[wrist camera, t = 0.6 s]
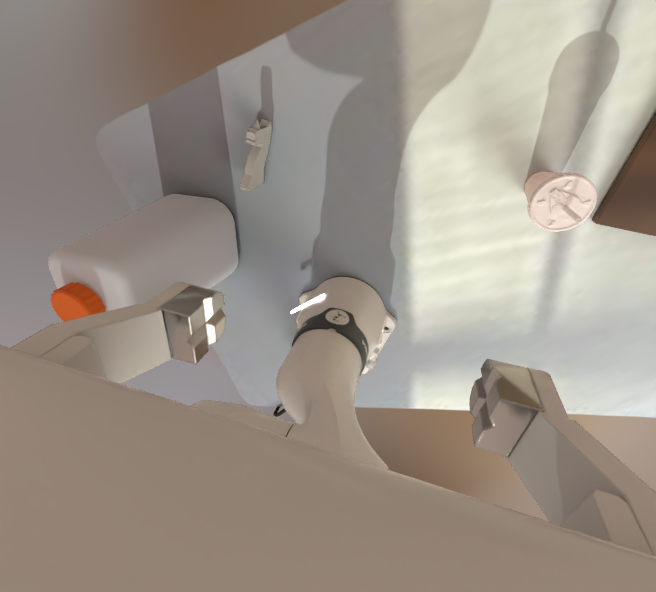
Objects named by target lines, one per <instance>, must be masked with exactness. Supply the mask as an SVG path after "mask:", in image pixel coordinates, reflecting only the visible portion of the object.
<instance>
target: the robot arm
mask: <svg viewBox="0 0 656 592" xmlns="http://www.w3.org/2000/svg"><path fill="white" fill-rule="evenodd" d="M299 303H300V306H299V307H297V308H295V309H293V310H292V311H291V312H290V313H291V314H292V313H294V312H296V311H298V310H300V313H299V315H298V317H297V319H296V322H297V323H298V324H297V325H298V331H297V333H296V335H295V337H294V340H293V343H292V348H291V350H290V352H289V354H288V355H287V357H286V359H285V360H284V362H283V364H282V366H281V367H280V369H279V371H278V374H277V378H276V389H277V393H278V396H279V399H280V401H281V403H282V405H283V407H284V409H283V410H281V411H280V412H279V413H277V412H278V410H279V408H280V407H281V406H277V408H276V409H275V411H274V416H273V415H270V414H267V413H265V412H262V411H259V410H256V409H253V408H251V407H248V406H245V405H242V404H235V403H229V402H222V401H213V400H202V401H199V402H198V403H195V404H193V405H192V406H188V405H185V404H182V403H179V402H176V401H172V400H170V399H167V398H163V397H160V396H157V395H154V394H151V393H148V392H145V391H142V390H139V389H136V388H133V387H129V386H126V385H123V384H121V383H123V382H125V381H127V380H129V379H131V378H133V377H136V376H138V375H140V374H141V373H144V372H146V371H148V370H150V369H152V368H154V367H156V366H158V365H161V364H162V363H164V362H167V361H169V360H171V358H174V359H177V360H181V361H185V362H189V363H193V364H197V363H198V362H199V361H200V359H201V358H202V357H203V356H204V355H205V354H206V353H207V352H208V345H210V344H213V343H216V342H217V341H218V340H219V339H220V337H221V336H222V334H223V332H224V330H225V325H226V315H225V314H224V312H223V311H222V309H221V308H222V307H223V306H224V304H225V302H224V295H223V294H222V293H221V292H218V291H214V290H211V289H207V288H203V287H200V286H196V285H192V284H188V283H184V282H175V283H174V284H172V285H171V286H170V287H168V288H167V289H165V290H164V291H162V292H161V293H159V294H158V295H156V296H155V297H153V298H152V299H150V300H149V301H147V302H146V303H145V304H143V305H141V304H135V305H131V306H127V307H123V308H119V309H114V310H110V311H106V312H102V313H98V314H94V315H89V316H85V317H81V318H77V319H73V320H68V321H64V322H60V323H56V324H52V325H49V326H48V327H46V328H44V329H43V330H41V331H39V332H37V333H35V334H34V335H32V336H30V337H29V338H27V339H25V340H23V341H21V342H20V343H18V344H16V345H15V346H13V347H11V348H8V347H5V346H2V345H0V592H656V492H655V491H654V490H653V489H651V488H650V487H649V486H648V485H647V484H646V483H645V482H644V481H643V480H641V479H640V478H639V477H638V476H637V475H636V474H635V473H634V472H632V471H631V470H630V469H629V468H628V467H627V466H626V465H625V464H623V463H622V462H621V461H620V460H619V459H618V458H617V457H616V456H614V455H613V454H612V453H611V452H610V451H609V450H608V449H607V448H605V447H604V446H603V445H602V444H601V443H600V442H599V441H598V440H596V439H595V438H594V437H593V436H592V435H591V434H590V433H589V432H587V431H586V430H585V429H584V428H583V427H582V426H580V424H578V423H577V422H576V421H573V420H570V419H569V418H568V416H567V413H566V411H565V409H564V406H563V404H562V402H561V399H560V397H559V395H558V392H557V390H556V388H555V385H554V383H553V381H552V379H551V376H550V374H548V373H547V372H545V371H541V370H536V369H532V368H527V367H526V368H525V367H520V366H516V365H512V364H508V363H504V362H500V361H495V360H491V359H487V360H486V361H485V362H484V364H483V366H482V368H481V373H482V378H480V379H478V380H476V381H475V383H474V385H473V388H472V391H471V395H470V413H471V415H472V416H473V417H474V418H475V420H474V422H473V424H472V433H473V441H474V447H477V448H480V449H483V450H486V451H489V452H492V453H495V454H498V455H502V456H505V457H508V461H509V462H510V463H511V465H512V466H513V468H514V470H515V471H516V472H517V474H518V475H519V477H520V478H521V480H522V481H523V483H524V484H525V486H526V487H527V489H528V490H529V492H530V493H531V495H532V496H533V498H534V499H535V501H536V502H537V503H538V505H539V506H540V508H541V510H542V511H543V513H544V514H545V516H546V517H547V518H548V520H549V521H550V522H548V521H545V520H542V519H539V518H536V517H532V516H529V515H526V514H523V513H520V512H517V511H514V510H511V509H508V508H504V507H502V506H498V505H495V504H492V503H489V502H486V501H483V500H480V499H477V498H474V497H470V496H467V495H464V494H461V493H458V492H455V491H452V490H449V489H446V488H442V487H439V486H436V485H433V484H430V483H427V482H424V481H421V480H418V479H415V478H412V477H408V476H405V475H402V474H399V473H396V472H393V471H390V470H389V468H388V466H387V465H386V464H385V463H384V462H383V461H382V460H381V459H380V457H379V456H378V455H377V454H376V453H375V451H374V450H373V449H372V447H371V446H370V444H369V443H368V441H367V440H366V438H365V436H364V434H363V432H362V430H361V428H360V426H359V423H358V421H357V417H356V413H355V407H354V401H355V393H356V388H357V383H358V378H359V376H360V375H361V374H365V373H367V372H368V370H369V369H373V367H374V365H375V363H376V360H377V358H376V357H377V356H378V354H379V352H380V351H381V349H382V347H383V346H384V344H385V342H386V341H387V339H388V338H389V336H390V334H391V333H392V331H393V329H394V328H395V325H396V320H395V318H394V317H393V316H392V315H391V314H390V313H389V312H388V311H387V310H386V308H385V306H384V304H383V302H382V300H381V298H380V296H379V295H378V293H377V292H376V291H375V290H374V289H373V288H372V287H370V286H369V285H368V284H366V283H364V282H362V281H360V280H358V279H354V278H350V277H335V278H331V279H328V280H326V281H324V282H323V283H321V284H320V285H319V286H318V287H317V288H315V289H314V290H312V291H309V292H305V293H303V294H302V295H301V296H300V299H299ZM385 327H388V328H385ZM286 411H287V412H288V414H289V415H290V416H291V417H292V418H293V419H294V420H295V421H296V422H297V423H292V422H289V421H287V420H284V419H281V418H279V417H278V416H280V415H282V414H283V413H284V412H286Z"/></svg>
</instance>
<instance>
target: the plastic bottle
mask: <svg viewBox="0 0 656 592" xmlns="http://www.w3.org/2000/svg"><path fill="white" fill-rule="evenodd" d="M238 260H239V259H238V249H237V240H236V231H235V222H234V218H233V216H232V214H231V212H230V210H229V209H228V208H227V207H226V206H225V205H224V204H223V203H221V202H220V201H218V200H215V199H212V198H204V197H197V196H189V195H181V194H170V195H168V196H165V197H163V198H161V199H159V200H157V201H155V202H153V203H151V204H149V205H147V206H145V207H143V208H141V209H139V210H137V211H135V212H132V213H131V214H128V215H126V216H124V217H123V218H120V219H118V220H116V221H114V222H112V223H110V224H108V225H106V226H104V227H102V228H100V229H98V230H96V231H93V232H91V233H89V234H87V235H85V236H83V237H81V238H79V239H77V240H75V241H73V242H71V243H69V244H67V245H65V246H62V247H60V248H58V249H56V250H55V251H53V252H52V253H51V255H50V256H49V259H48V265H49V269H50V272H51V274H52V277H53V279H54V282H55V284H56V286H57V290H55V291H54V293H53V294H52V296H51V303H52V306H53V308H54V310H55V312H56V313H57V315H58V316H59V317H60V318H61V319H62V320H63V321H68V320H73V319H77V318H81V317H85V316H89V315H94V314H98V313H102V312H106V311H110V310H114V309H119V308H123V307H127V306H131V305H135V304H141V305H143V304H145V303H146V302H147V301H149V300H150V299H152V298H153V297H155V296H156V295H158V294H159V293H161V292H162V291H164V290H165V289H167V288H168V287H170V286H171V285H172V284H174V283H175V282H184V283H188V284H192V285H196V286H200V287H203V288H207V289H210V288H211V287H213V286H214V285H216V284H217V283H219V282H220V281H221V280H223V279H224V278H226V277H227V276H229V275H230V274H232V273H233V272H234V271H235V270H236V268H237V266H238Z"/></svg>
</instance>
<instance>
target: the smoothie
mask: <svg viewBox="0 0 656 592" xmlns="http://www.w3.org/2000/svg"><path fill="white" fill-rule="evenodd" d="M524 190H525V194H526V197H527V200H528V207H527V208H528V215H529V217H530V218H531V220H532V221H533V222H534V223H535V224H536V225H537V226H538V227H540V228H542V229H544V230H547V231H553V232H558V231H565V230H568V229H571V228H574V227H576V226H577V225H579V224H581V223H582V222H583V221H584V220H586V219H587V218H588V217H589V215H590V214H591V213H592V211H593V209H594V207H595V205H596V201H597V192H596V189H595V186H594V185H593V183H592V182H591V181H590V180H588V179H587V178H586V177H584V176H582V175H580V174H577V173H571V172H570V173H560V174H559V173H553V172H547V171H540V172H537V173H535V174H533V175H532V176H530V177H529V178H528V180H527V181H526V183H525V187H524Z"/></svg>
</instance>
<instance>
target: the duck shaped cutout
mask: <svg viewBox="0 0 656 592" xmlns="http://www.w3.org/2000/svg"><path fill="white" fill-rule="evenodd" d="M271 124H272V123H271V122H270V121H267V120H265V119H261V122H260V123H259V122H258V119H257V121H256V122H255V123H254V124H253V126H252V127H249V128H248V131H247V134H246V142H247V143H249V144H252V145H253V146H252V148H251V150H250V153H249V156H248V159H247V162H246V166H245V170H244V174H243V177H242V180H241V182H240V184H241V185H240V189H242V190H244V191H247V192H249V191H251V190H252V189H254V188H256V187H258V186H260V185H262V184H264V167H265V165H264V164H265V163H266V158H267V156H268V154H267V153H268V152H269V151H268V150H269V148H270V147H269V146H270V143H271V142H270V141H271V139H270V138H271V134H272V133H271V132H272V130H271V129H272V126H271Z"/></svg>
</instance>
